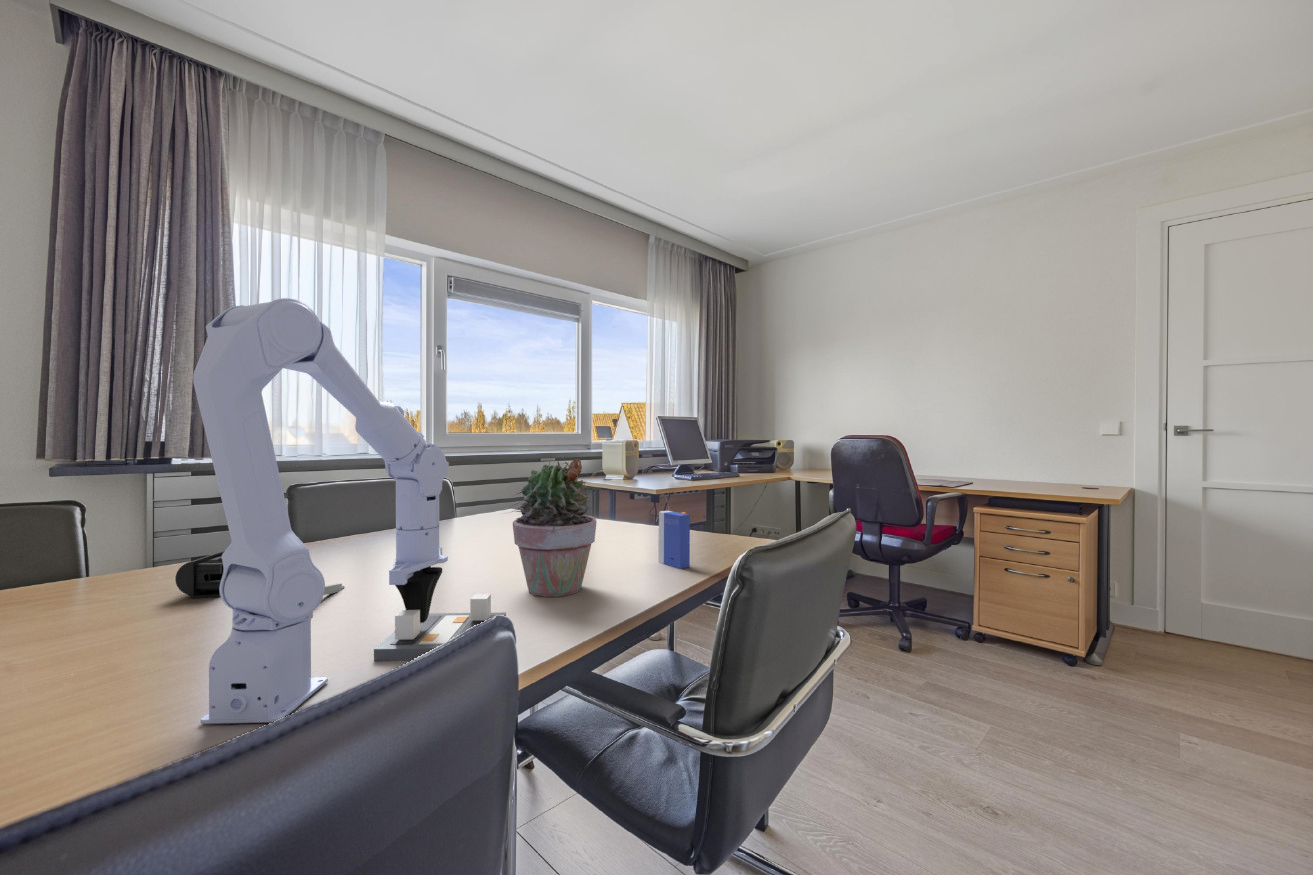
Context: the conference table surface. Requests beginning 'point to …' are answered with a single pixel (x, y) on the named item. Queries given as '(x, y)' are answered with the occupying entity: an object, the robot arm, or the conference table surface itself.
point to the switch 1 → (407, 624)
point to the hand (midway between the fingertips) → (418, 621)
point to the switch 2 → (480, 607)
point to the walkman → (674, 539)
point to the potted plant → (554, 531)
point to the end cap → (201, 577)
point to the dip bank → (426, 636)
